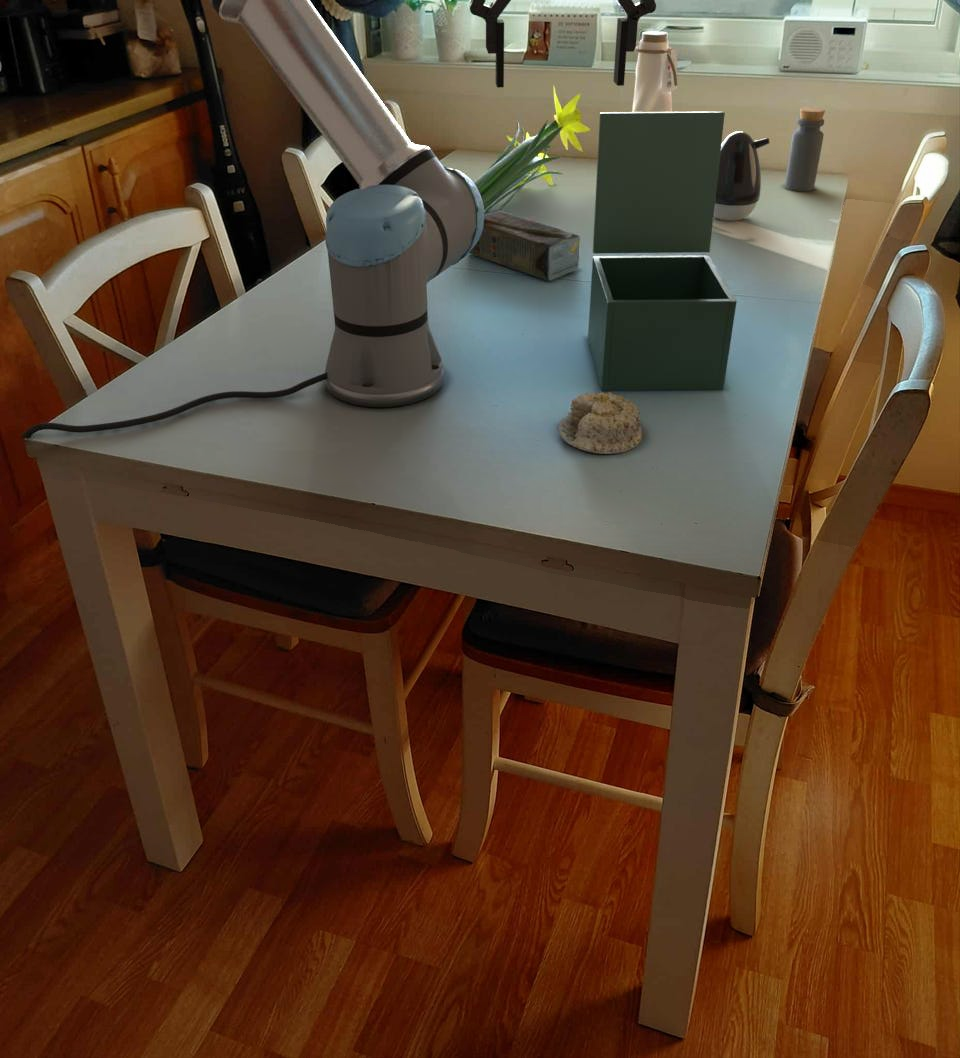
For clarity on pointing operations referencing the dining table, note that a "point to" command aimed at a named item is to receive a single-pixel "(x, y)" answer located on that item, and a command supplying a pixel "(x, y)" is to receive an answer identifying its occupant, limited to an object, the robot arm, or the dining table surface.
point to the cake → (602, 424)
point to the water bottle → (655, 73)
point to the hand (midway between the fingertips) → (559, 84)
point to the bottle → (805, 150)
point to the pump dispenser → (738, 177)
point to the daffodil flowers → (529, 156)
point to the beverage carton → (527, 245)
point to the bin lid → (656, 181)
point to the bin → (659, 323)
